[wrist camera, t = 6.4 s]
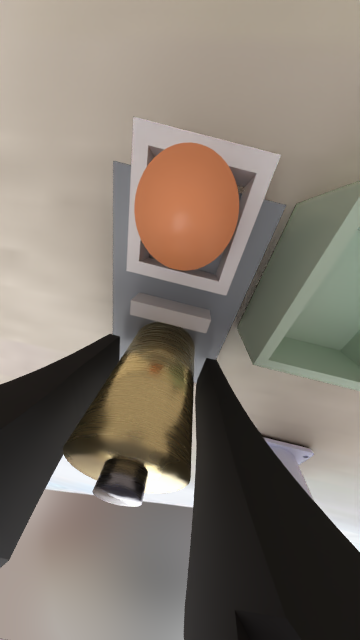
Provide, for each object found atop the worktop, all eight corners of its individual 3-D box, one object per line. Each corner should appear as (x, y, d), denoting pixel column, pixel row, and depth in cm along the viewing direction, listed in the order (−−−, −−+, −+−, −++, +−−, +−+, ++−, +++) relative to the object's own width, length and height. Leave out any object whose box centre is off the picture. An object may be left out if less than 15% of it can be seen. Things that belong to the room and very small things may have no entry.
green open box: (334, 352, 10) (391, 398, 7) (236, 327, 10) (253, 364, 7) (439, 240, 7) (624, 241, 4) (296, 203, 7) (372, 176, 4)
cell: (186, 375, 11) (173, 527, 5) (132, 362, 11) (58, 501, 5) (202, 330, 9) (209, 492, 3) (137, 314, 9) (26, 449, 3)
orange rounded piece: (211, 267, 7) (217, 280, 4) (153, 252, 6) (131, 258, 4) (235, 191, 5) (259, 159, 3) (162, 173, 5) (139, 128, 3)
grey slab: (200, 377, 13) (201, 410, 10) (121, 357, 13) (102, 386, 10) (278, 193, 7) (324, 166, 4) (129, 155, 7) (89, 104, 4)
